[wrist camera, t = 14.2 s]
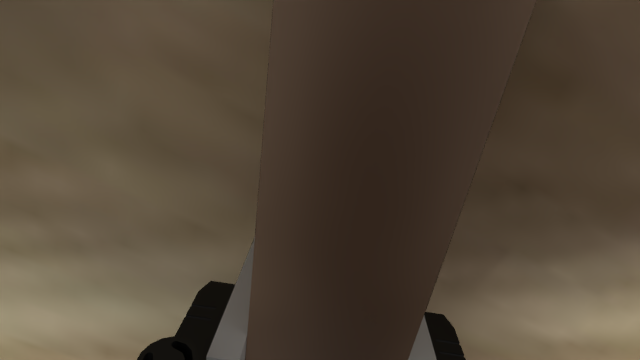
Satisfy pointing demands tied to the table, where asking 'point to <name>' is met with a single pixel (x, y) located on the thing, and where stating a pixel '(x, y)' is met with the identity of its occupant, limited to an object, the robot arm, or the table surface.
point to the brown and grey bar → (368, 165)
